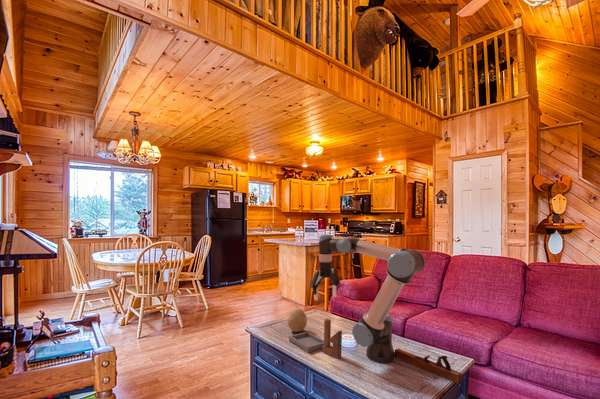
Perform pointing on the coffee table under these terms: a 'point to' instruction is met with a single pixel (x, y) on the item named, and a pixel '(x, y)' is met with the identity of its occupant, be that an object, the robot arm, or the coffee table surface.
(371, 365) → the coffee table surface
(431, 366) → the hand plane
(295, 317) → the fossilized egg
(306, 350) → the tray
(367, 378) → the coffee table surface
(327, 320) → the brown wooden piece
